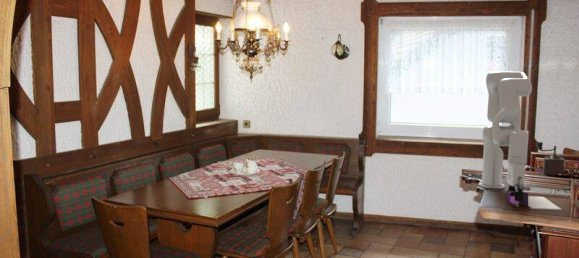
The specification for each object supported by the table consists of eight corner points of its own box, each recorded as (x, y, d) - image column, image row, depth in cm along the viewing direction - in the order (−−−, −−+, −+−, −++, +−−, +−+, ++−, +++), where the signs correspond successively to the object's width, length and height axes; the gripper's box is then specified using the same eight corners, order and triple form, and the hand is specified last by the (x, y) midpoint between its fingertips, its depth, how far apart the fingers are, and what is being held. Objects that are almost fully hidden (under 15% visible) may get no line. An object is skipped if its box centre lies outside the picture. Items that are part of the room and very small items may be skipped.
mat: (516, 196, 250) (516, 195, 250) (543, 197, 249) (543, 196, 249) (531, 208, 229) (531, 207, 229) (561, 210, 227) (561, 208, 227)
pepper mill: (563, 173, 311) (565, 142, 309) (563, 176, 301) (565, 145, 299) (534, 170, 318) (536, 141, 316) (533, 173, 308) (535, 143, 306)
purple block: (528, 191, 232) (506, 189, 237) (526, 197, 228) (504, 195, 233) (528, 204, 234) (506, 202, 239) (526, 211, 231) (504, 208, 235)
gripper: (503, 156, 240) (500, 193, 242) (514, 162, 223) (512, 202, 225) (520, 157, 239) (518, 194, 241) (533, 163, 222) (530, 203, 224)
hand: (515, 198), depth 233 cm, fingers open, 9 cm apart
